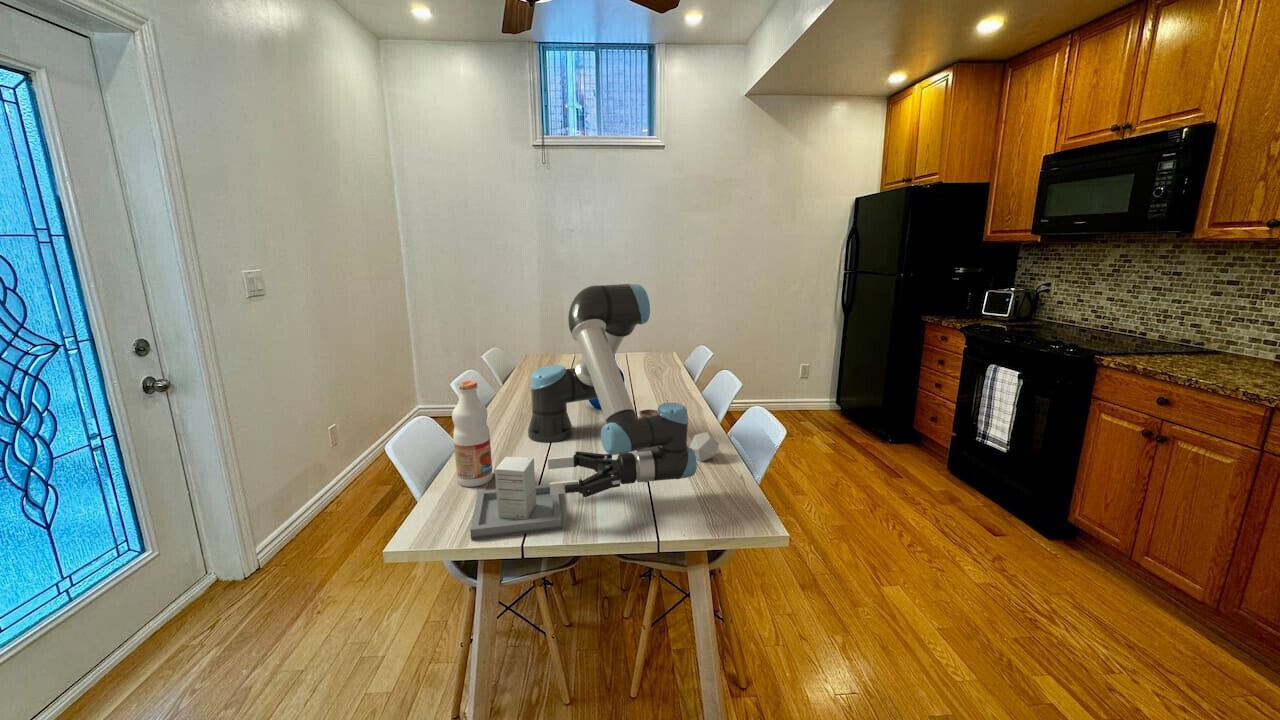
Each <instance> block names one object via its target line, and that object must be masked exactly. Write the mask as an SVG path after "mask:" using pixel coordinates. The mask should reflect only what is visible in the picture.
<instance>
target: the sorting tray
mask: <svg viewBox="0 0 1280 720" xmlns="http://www.w3.org/2000/svg"><path fill="white" fill-rule="evenodd" d="M535 487H536V503H537V504H536V506H535V507H534V509H533V511H532V512H531V514H530V516H529V517H528V519H512V518H499V517H498V505H497V493H496V488H495V489H486V490H478V491H477V494H476V499H475V504H474V509H473V515H472V519H471V524H470V525H471V526H470V529H469V531H470V540H471V539H472V541H473V539H474V540H480V539H481V540H482V539H491V538H498V537H507V536H516V535H525V534H531V533H533V534H534V533H540V532H541V533H542V532H549V531H557V530H562V529H563V525H562V524H563V522H562V521H563V519H562V513H561V512H562V511H561V503H560V494H554V495H550V483H548V484H538V485H536V484H535Z"/></svg>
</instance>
